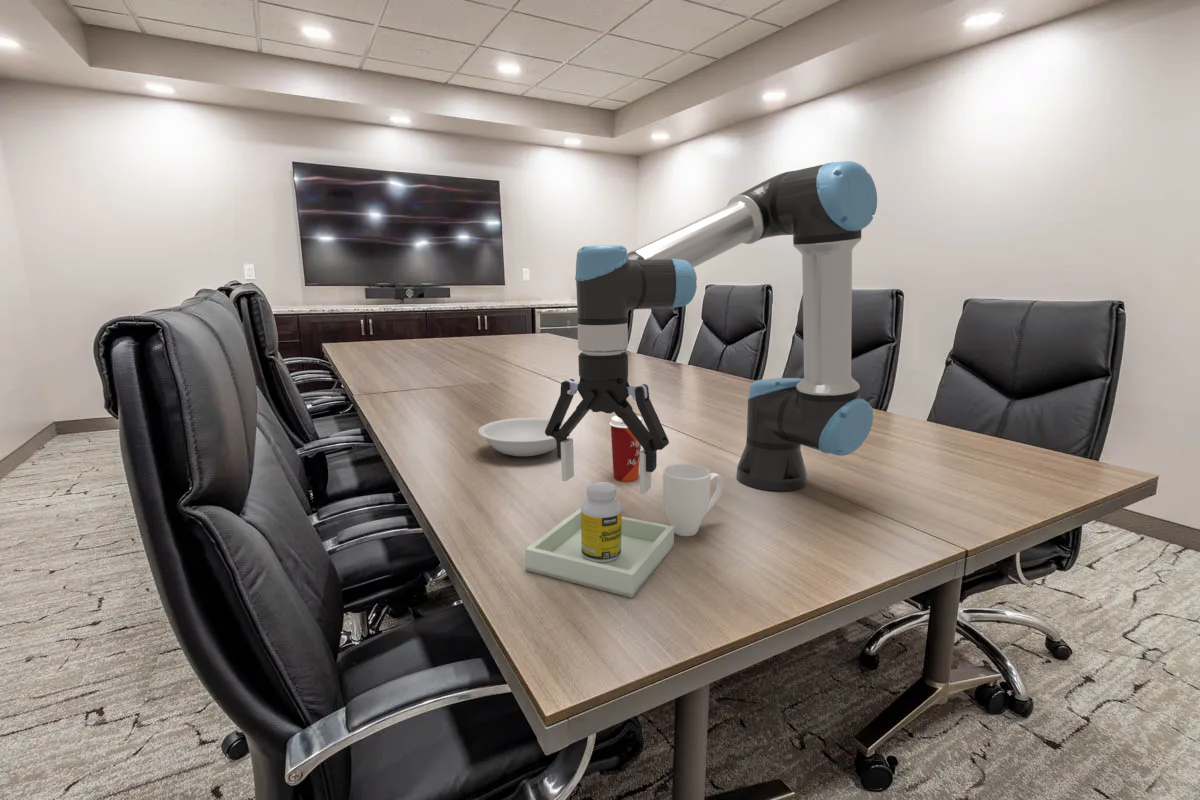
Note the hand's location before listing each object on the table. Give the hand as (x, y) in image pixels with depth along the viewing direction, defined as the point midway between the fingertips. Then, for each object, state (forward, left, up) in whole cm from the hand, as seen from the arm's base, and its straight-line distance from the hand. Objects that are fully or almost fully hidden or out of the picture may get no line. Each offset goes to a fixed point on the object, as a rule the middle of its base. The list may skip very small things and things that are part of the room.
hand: (605, 484), depth 91 cm
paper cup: (+12, -37, -13) cm, 41 cm away
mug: (-10, -17, -13) cm, 23 cm away
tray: (0, 0, -13) cm, 13 cm away
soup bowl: (+43, -43, -13) cm, 62 cm away
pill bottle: (0, +1, -12) cm, 12 cm away
